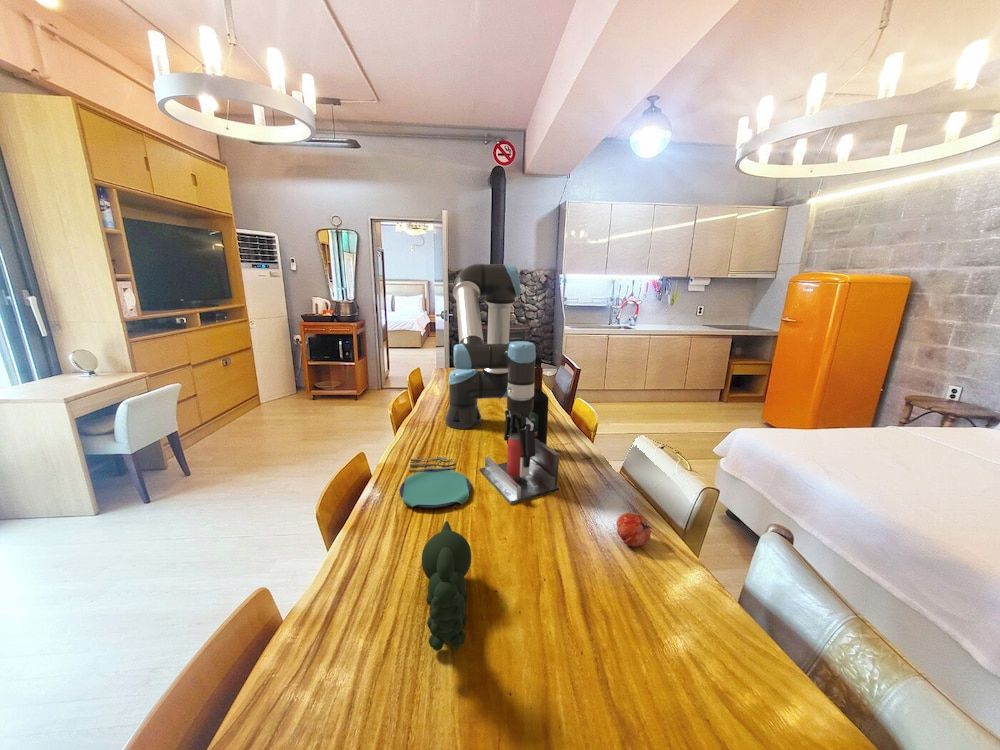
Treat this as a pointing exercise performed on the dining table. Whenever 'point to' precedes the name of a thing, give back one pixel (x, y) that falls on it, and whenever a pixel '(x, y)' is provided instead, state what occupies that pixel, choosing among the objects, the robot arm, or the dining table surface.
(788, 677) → the dining table surface
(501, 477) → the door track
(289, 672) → the dining table surface
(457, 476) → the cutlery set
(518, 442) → the beer can
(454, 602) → the toy figurine
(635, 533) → the pomegranate
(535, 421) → the wine bottle
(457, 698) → the dining table surface
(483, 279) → the robot arm
